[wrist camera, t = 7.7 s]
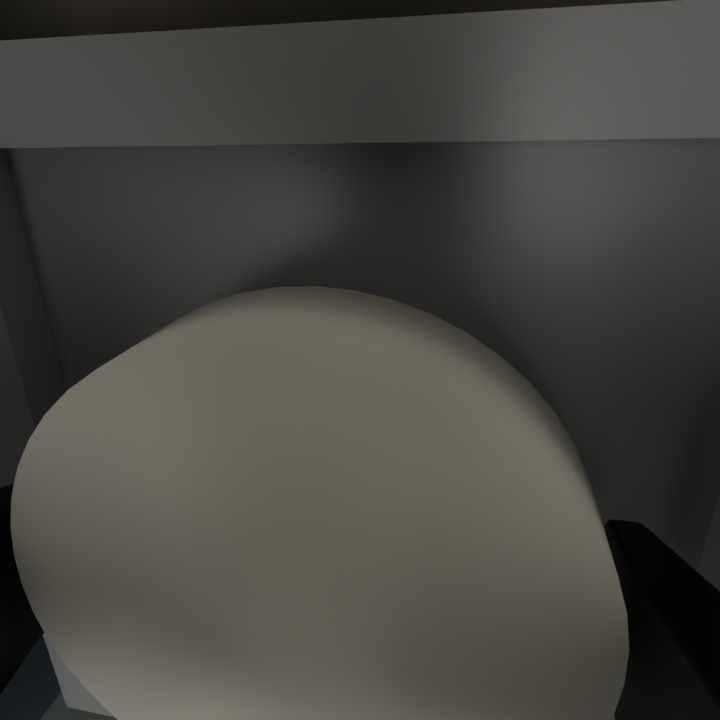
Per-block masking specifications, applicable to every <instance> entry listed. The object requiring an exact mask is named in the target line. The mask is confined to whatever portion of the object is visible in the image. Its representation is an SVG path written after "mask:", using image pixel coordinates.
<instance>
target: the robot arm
mask: <svg viewBox="0 0 720 720" xmlns="http://www.w3.org/2000/svg"><path fill="white" fill-rule="evenodd" d="M13 486H14V483H13V484H10V485H7V486H5V487H2V488H0V695H1V694H2V692H3V691H4V689H5V688H6V687H7V685H8V684H9V682H10V681H11V679H12V678H13V677H14V675H15V674H16V672H17V671H18V669H19V668H20V667H21V665H22V664H23V662H24V661H25V660H26V658H27V657H28V655H29V654H30V652H31V651H32V650H33V648H34V647H35V645H36V644H37V642H38V641H39V640H40V638H41V637H42V635H43V634H44V631H43V629H42V627H41V625H40V624H39V622H38V620H37V618H36V616H35V614H34V612H33V611H32V608H31V606H30V603H29V601H28V598H27V596H26V593H25V591H24V588H23V586H22V583H21V580H20V576H19V572H18V568H17V564H16V561H15V557H14V551H13V543H12V535H11V526H10V522H11V496H12V491H13ZM604 530H605V534H606V537H607V541H608V544H609V547H610V551H611V554H612V558H613V561H614V564H615V568H616V571H617V574H618V578H619V582H620V586H621V591H622V595H623V599H624V603H625V607H626V611H627V619H628V637H629V655H628V662H627V670H626V677H625V684H624V687H623V689H622V692H621V695H620V698H619V701H618V704H617V707H616V710H615V712H614V716H615V720H720V591H719V590H718V589H717V588H716V587H714V586H713V585H712V584H711V583H710V582H709V581H708V580H706V579H705V578H704V577H703V576H702V575H701V574H700V573H698V572H697V571H696V570H695V569H694V568H693V567H692V566H690V565H689V564H688V563H687V562H686V561H685V560H684V559H682V558H681V557H680V556H679V555H678V554H677V553H676V552H674V551H673V550H672V549H671V548H670V547H669V546H668V545H666V544H665V543H664V542H663V541H662V540H661V539H660V538H658V537H657V536H656V535H655V534H654V533H653V532H652V531H651V530H649V529H648V528H647V527H646V526H645V525H643V524H642V523H640V522H635V521H626V520H617V519H610V520H608V521H607V522H606V524H605V526H604Z"/></svg>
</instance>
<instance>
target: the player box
mask: <svg viewBox="0 0 720 720" xmlns="http://www.w3.org/2000/svg"><path fill="white" fill-rule="evenodd" d="M82 712H83V710H79V709H74V708H69V707H67V706H66V703H65V700H64V697H63V694H62V691H61V688H60V685H59V682H58V679H57V676H56V673H55V670H54V667H53V664H52V661H51V658H50V655H49V652H48V649H47V646H46V643H45V640H44V637H43V635H42V637H41V638H40V640H39V641H38V642H37V644H36V645H35V647H34V648H33V650H32V651H31V652H30V654H29V655H28V657H27V658H26V660H25V661H24V662H23V664H22V665H21V667H20V668H19V669H18V671H17V672H16V674H15V675H14V677H13V678H12V679H11V681H10V682H9V684H8V685H7V687H6V688H5V689H4V691H3V692H2V694H1V695H0V720H77V719H78V717H79V716H80V715H81V713H82Z"/></svg>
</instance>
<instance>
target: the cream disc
mask: <svg viewBox="0 0 720 720" xmlns="http://www.w3.org/2000/svg"><path fill="white" fill-rule="evenodd" d="M10 526H11V535H12V543H13V551H14V557H15V561H16V564H17V568H18V572H19V576H20V580H21V583H22V586H23V588H24V591H25V593H26V596H27V598H28V601H29V603H30V606H31V608H32V611H33V612H34V614H35V616H36V618H37V620H38V622H39V624H40V625H41V627H42V629H43V631H44V633H45V635H46V637H47V638H48V640H49V641H50V643H51V644H52V646H53V647H54V648H55V650H56V651H57V653H58V654H59V656H60V657H61V659H62V660H63V662H64V663H65V664H66V666H67V667H68V668H69V669H70V670H71V672H72V673H73V674H74V675H75V676H76V678H77V679H78V680H79V681H80V683H81V684H82V685H83V686H84V687H85V688H86V689H87V690H88V691H89V692H90V693H91V694H92V695H93V696H94V697H95V698H96V700H97V701H98V702H99V703H100V704H101V705H102V706H103V707H104V708H105V709H106V710H107V711H109V712H110V713H111V714H112V715H113V716H114V717H116V718H117V719H118V720H611V718H612V716H613V715H614V712H615V710H616V707H617V704H618V701H619V698H620V695H621V692H622V689H623V687H624V684H625V677H626V670H627V662H628V655H629V637H628V619H627V611H626V607H625V603H624V599H623V595H622V591H621V586H620V582H619V578H618V574H617V571H616V568H615V564H614V561H613V558H612V554H611V551H610V547H609V544H608V541H607V537H606V534H605V530H604V527H603V524H602V520H601V517H600V514H599V510H598V507H597V503H596V500H595V497H594V493H593V490H592V486H591V483H590V480H589V476H588V474H587V471H586V469H585V467H584V464H583V462H582V460H581V457H580V455H579V453H578V450H577V448H576V446H575V443H574V442H573V440H572V439H571V437H570V435H569V434H568V432H567V430H566V429H565V427H564V426H563V424H562V422H561V421H560V419H559V417H558V416H557V414H556V413H555V411H554V410H553V409H552V408H551V407H550V405H549V404H548V403H547V402H546V401H545V399H544V398H543V397H542V396H541V395H540V394H539V392H538V391H537V390H536V389H535V388H534V386H533V385H532V384H531V383H530V382H529V381H528V380H527V379H526V378H525V377H524V376H522V375H521V374H520V373H519V372H518V371H517V370H516V369H515V368H514V367H513V366H511V365H510V364H509V363H508V362H507V361H506V360H505V359H504V358H503V357H502V356H500V355H499V354H497V353H496V352H494V351H493V350H492V349H490V348H489V347H487V346H486V345H484V344H483V343H482V342H480V341H479V340H477V339H476V338H474V337H473V336H471V335H470V334H469V333H467V332H465V331H463V330H461V329H459V328H457V327H455V326H454V325H452V324H450V323H448V322H446V321H444V320H442V319H440V318H438V317H436V316H434V315H433V314H430V313H428V312H425V311H422V310H420V309H417V308H414V307H412V306H409V305H406V304H404V303H401V302H398V301H396V300H393V299H389V298H384V297H380V296H376V295H372V294H368V293H363V292H359V291H355V290H347V289H338V288H328V287H319V286H296V287H273V288H267V289H261V290H255V291H249V292H243V293H239V294H236V295H233V296H229V297H226V298H223V299H220V300H217V301H214V302H211V303H208V304H206V305H204V306H202V307H200V308H198V309H196V310H194V311H192V312H190V313H188V314H186V315H184V316H182V317H180V318H178V319H176V320H175V321H173V322H172V323H170V324H168V325H167V326H165V327H164V328H162V329H160V330H159V331H157V332H155V333H154V334H152V335H151V336H149V337H147V338H146V339H144V340H143V341H141V342H139V343H138V344H136V345H135V346H133V347H131V348H130V349H128V350H127V351H125V352H123V353H122V354H120V355H119V356H117V357H115V358H114V359H112V360H110V361H109V362H107V363H106V364H104V365H102V366H101V367H99V368H98V369H96V370H95V371H93V372H92V373H91V374H89V375H88V376H86V377H85V378H84V379H82V380H81V381H80V382H78V383H77V384H75V385H74V386H73V387H71V388H70V389H69V390H67V391H66V393H65V394H64V395H63V396H62V397H61V398H60V399H59V400H58V401H57V402H56V403H55V404H54V405H53V406H52V407H51V408H50V409H49V410H48V411H47V413H46V414H45V415H44V417H43V418H42V420H41V421H40V423H39V424H38V426H37V428H36V429H35V431H34V432H33V434H32V435H31V437H30V438H29V440H28V442H27V445H26V447H25V450H24V452H23V455H22V457H21V460H20V462H19V465H18V467H17V472H16V477H15V481H14V486H13V491H12V496H11V522H10Z"/></svg>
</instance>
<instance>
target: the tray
mask: <svg viewBox="0 0 720 720" xmlns="http://www.w3.org/2000/svg"><path fill="white" fill-rule="evenodd" d="M296 286H319V287H328V288H338V289H347V290H355V291H359V292H363V293H368V294H372V295H376V296H380V297H384V298H389V299H393V300H396V301H398V302H401V303H404V304H406V305H409V306H412V307H414V308H417V309H420V310H422V311H425V312H428V313H430V314H433V315H434V316H436V317H438V318H440V319H442V320H444V321H446V322H448V323H450V324H452V325H454V326H455V327H457V328H459V329H461V330H463V331H465V332H467V333H469V334H470V335H471V336H473V337H474V338H476V339H477V340H479V341H480V342H482V343H483V344H484V345H486V346H487V347H489V348H490V349H492V350H493V351H494V352H496V353H497V354H499V355H500V356H502V357H503V358H504V359H505V360H506V361H507V362H508V363H509V364H510V365H511V366H513V367H514V368H515V369H516V370H517V371H518V372H519V373H520V374H521V375H522V376H524V377H525V378H526V379H527V380H528V381H529V382H530V383H531V384H532V385H533V386H534V388H535V389H536V390H537V391H538V392H539V394H540V395H541V396H542V397H543V398H544V399H545V401H546V402H547V403H548V404H549V405H550V407H551V408H552V409H553V410H554V411H555V413H556V414H557V416H558V417H559V419H560V421H561V422H562V424H563V426H564V427H565V429H566V430H567V432H568V434H569V435H570V437H571V439H572V440H573V442H574V443H575V446H576V448H577V450H578V453H579V455H580V457H581V460H582V462H583V464H584V467H585V469H586V471H587V474H588V476H589V480H590V483H591V486H592V490H593V493H594V497H595V500H596V503H597V507H598V510H599V514H600V517H601V520H602V524H603V527H604V526H605V524H606V522H607V521H608V520H610V519H617V520H626V521H635V522H640V523H642V524H643V525H645V526H646V527H647V528H648V529H649V530H651V531H652V532H653V533H654V534H655V535H656V536H657V537H658V538H660V539H661V540H662V541H663V542H664V543H665V544H666V545H668V546H669V547H670V548H671V549H672V550H673V551H674V552H676V553H677V554H678V555H679V556H680V557H681V558H682V559H684V560H685V561H686V562H687V563H688V564H689V565H690V566H692V567H693V568H694V569H695V570H696V571H697V572H698V573H700V574H701V575H702V576H703V577H704V578H705V579H706V580H708V581H709V582H710V583H711V584H712V585H713V586H714V587H716V588H717V589H718V590H719V591H720V0H677V1H660V2H643V3H626V4H609V5H592V6H575V7H558V8H541V9H525V10H508V11H491V12H474V13H457V14H440V15H423V16H406V17H389V18H373V19H356V20H339V21H322V22H305V23H288V24H271V25H254V26H237V27H220V28H204V29H187V30H170V31H153V32H136V33H119V34H102V35H85V36H68V37H52V38H35V39H18V40H1V41H0V488H2V487H5V486H7V485H10V484H13V483H14V481H15V477H16V472H17V467H18V465H19V462H20V460H21V457H22V455H23V452H24V450H25V447H26V445H27V442H28V440H29V438H30V437H31V435H32V434H33V432H34V431H35V429H36V428H37V426H38V424H39V423H40V421H41V420H42V418H43V417H44V415H45V414H46V413H47V411H48V410H49V409H50V408H51V407H52V406H53V405H54V404H55V403H56V402H57V401H58V400H59V399H60V398H61V397H62V396H63V395H64V394H65V393H66V391H67V390H69V389H70V388H71V387H73V386H74V385H75V384H77V383H78V382H80V381H81V380H82V379H84V378H85V377H86V376H88V375H89V374H91V373H92V372H93V371H95V370H96V369H98V368H99V367H101V366H102V365H104V364H106V363H107V362H109V361H110V360H112V359H114V358H115V357H117V356H119V355H120V354H122V353H123V352H125V351H127V350H128V349H130V348H131V347H133V346H135V345H136V344H138V343H139V342H141V341H143V340H144V339H146V338H147V337H149V336H151V335H152V334H154V333H155V332H157V331H159V330H160V329H162V328H164V327H165V326H167V325H168V324H170V323H172V322H173V321H175V320H176V319H178V318H180V317H182V316H184V315H186V314H188V313H190V312H192V311H194V310H196V309H198V308H200V307H202V306H204V305H206V304H208V303H211V302H214V301H217V300H220V299H223V298H226V297H229V296H233V295H236V294H239V293H243V292H249V291H255V290H261V289H267V288H273V287H296ZM43 637H44V640H45V643H46V646H47V649H48V652H49V655H50V658H51V661H52V664H53V667H54V670H55V673H56V676H57V679H58V682H59V685H60V688H61V691H62V694H63V697H64V700H65V703H66V706H67V707H69V708H74V709H79V710H84V711H88V712H93V713H98V714H103V715H107V716H112V717H114V716H113V715H112V714H111V713H110V712H109V711H107V710H106V709H105V708H104V707H103V706H102V705H101V704H100V703H99V702H98V701H97V700H96V698H95V697H94V696H93V695H92V694H91V693H90V692H89V691H88V690H87V689H86V688H85V687H84V686H83V685H82V684H81V683H80V681H79V680H78V679H77V678H76V676H75V675H74V674H73V673H72V672H71V670H70V669H69V668H68V667H67V666H66V664H65V663H64V662H63V660H62V659H61V657H60V656H59V654H58V653H57V651H56V650H55V648H54V647H53V646H52V644H51V643H50V641H49V640H48V638H47V637H46V635H45V633H44V634H43ZM611 720H615V716H614V715H613V716H612V718H611Z"/></svg>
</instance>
